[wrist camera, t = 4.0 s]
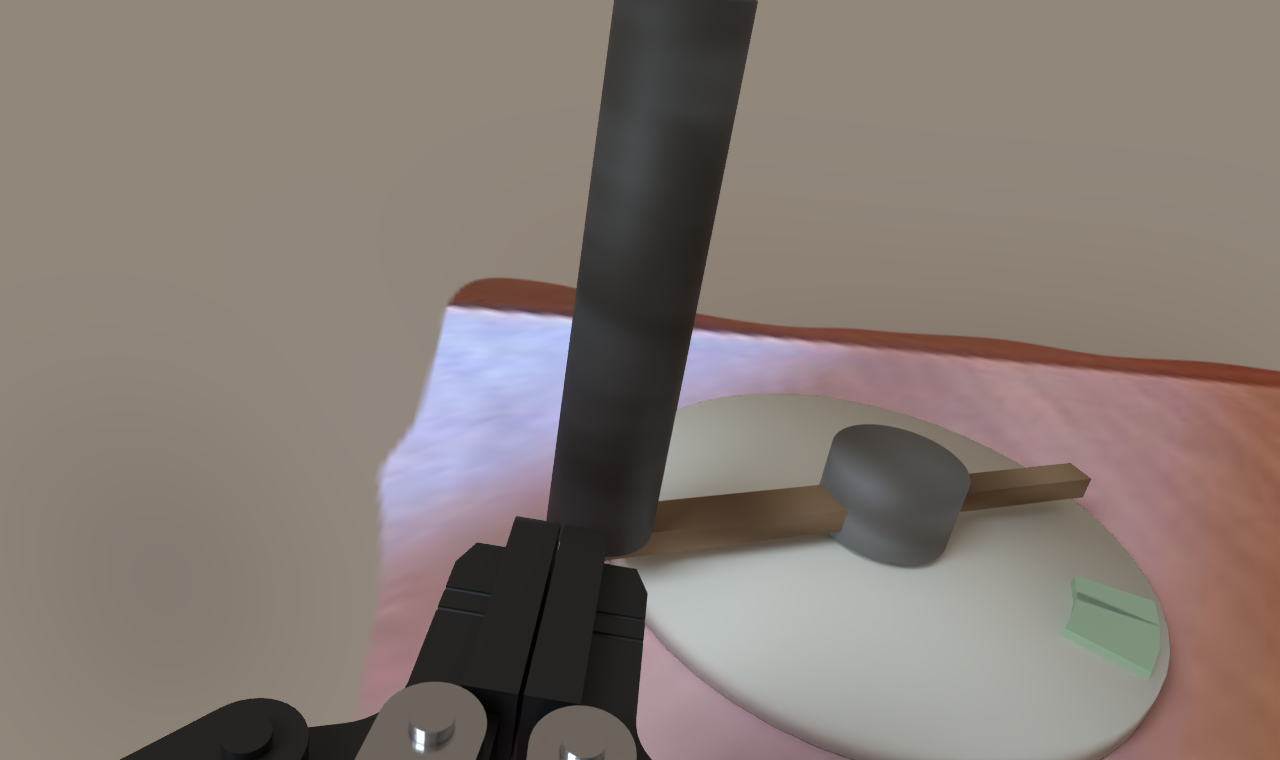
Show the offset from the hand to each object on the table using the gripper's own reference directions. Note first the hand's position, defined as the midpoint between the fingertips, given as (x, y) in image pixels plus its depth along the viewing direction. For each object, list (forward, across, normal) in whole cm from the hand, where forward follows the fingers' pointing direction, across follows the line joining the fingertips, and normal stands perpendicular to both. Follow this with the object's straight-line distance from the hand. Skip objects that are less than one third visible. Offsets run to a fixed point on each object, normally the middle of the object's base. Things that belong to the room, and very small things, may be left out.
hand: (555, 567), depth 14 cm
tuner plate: (+14, -10, +8) cm, 19 cm away
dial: (+13, -8, +7) cm, 17 cm away
